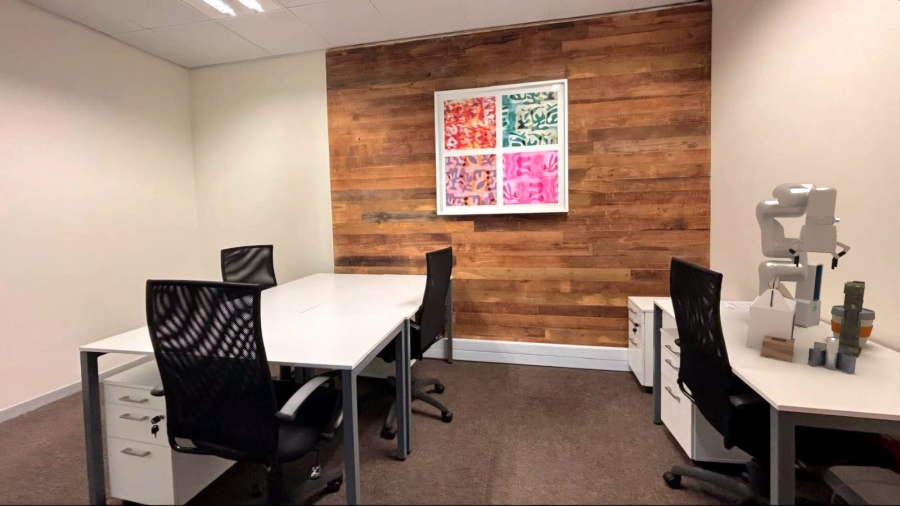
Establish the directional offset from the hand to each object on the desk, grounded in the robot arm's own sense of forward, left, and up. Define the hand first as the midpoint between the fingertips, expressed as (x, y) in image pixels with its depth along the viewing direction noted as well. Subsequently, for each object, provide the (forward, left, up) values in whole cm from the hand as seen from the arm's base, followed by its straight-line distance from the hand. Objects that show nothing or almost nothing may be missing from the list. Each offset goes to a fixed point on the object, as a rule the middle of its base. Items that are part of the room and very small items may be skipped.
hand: (814, 267), depth 143 cm
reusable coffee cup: (-27, +13, -34) cm, 46 cm away
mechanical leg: (-15, +12, -34) cm, 39 cm away
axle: (+9, +6, -34) cm, 36 cm away
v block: (+5, +7, -34) cm, 35 cm away
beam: (+5, -8, -34) cm, 36 cm away
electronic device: (-51, -1, -34) cm, 62 cm away
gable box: (-9, -11, -35) cm, 38 cm away
